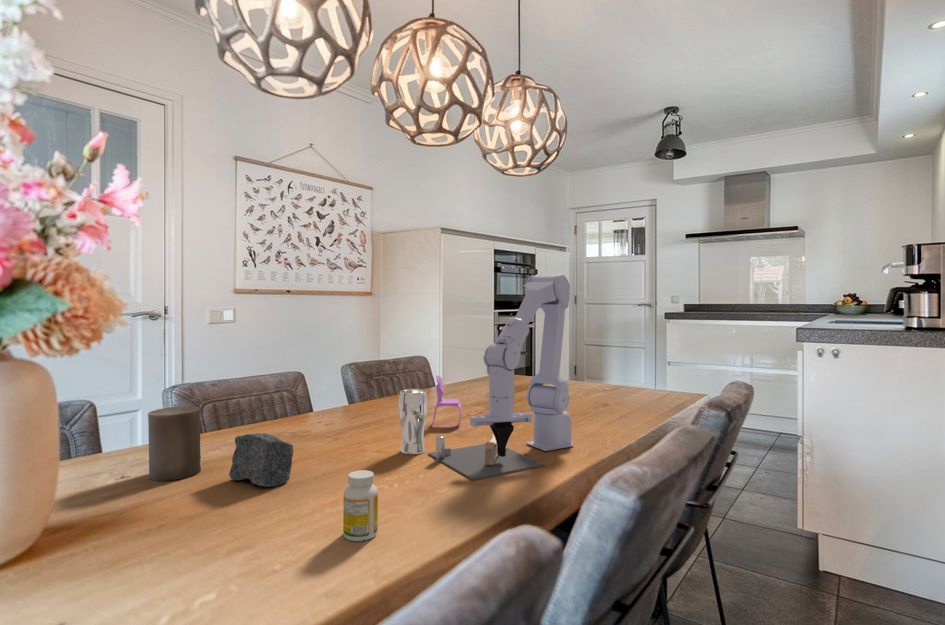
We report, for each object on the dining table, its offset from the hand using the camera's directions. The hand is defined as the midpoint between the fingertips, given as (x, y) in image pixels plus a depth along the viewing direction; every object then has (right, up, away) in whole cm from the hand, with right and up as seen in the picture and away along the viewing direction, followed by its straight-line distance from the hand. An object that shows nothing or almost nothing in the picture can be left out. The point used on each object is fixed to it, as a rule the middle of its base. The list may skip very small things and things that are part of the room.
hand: (501, 455), depth 117 cm
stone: (-50, -2, -12) cm, 52 cm away
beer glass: (-21, -2, +10) cm, 24 cm away
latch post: (-13, -2, +4) cm, 14 cm away
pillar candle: (-70, -2, -8) cm, 71 cm away
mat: (-4, -2, +3) cm, 5 cm away
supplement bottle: (-24, -3, -36) cm, 44 cm away
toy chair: (-14, -2, +37) cm, 40 cm away
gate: (-2, -1, +3) cm, 3 cm away
